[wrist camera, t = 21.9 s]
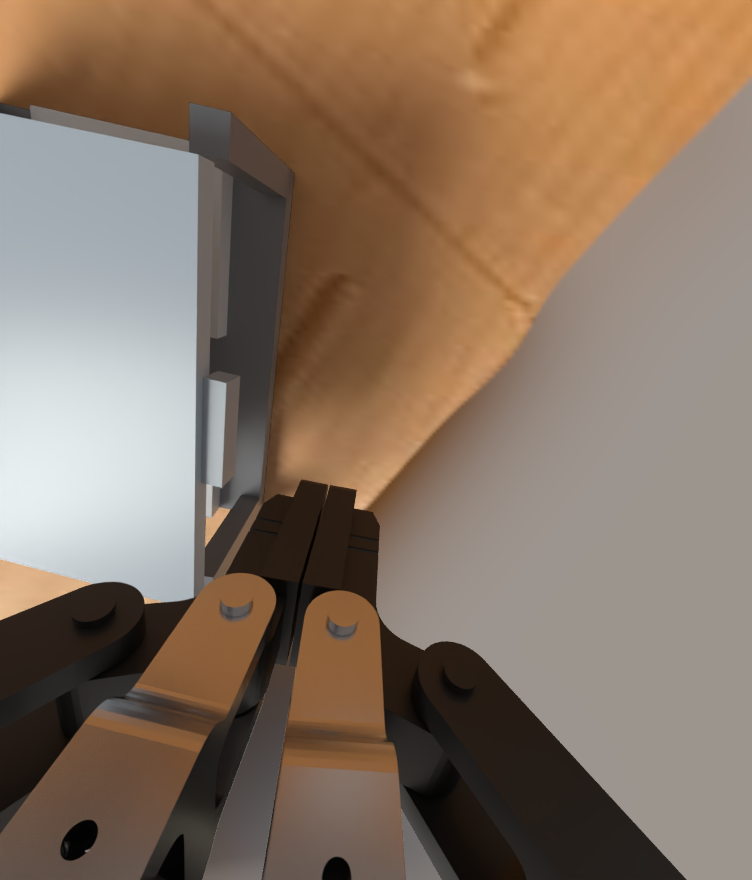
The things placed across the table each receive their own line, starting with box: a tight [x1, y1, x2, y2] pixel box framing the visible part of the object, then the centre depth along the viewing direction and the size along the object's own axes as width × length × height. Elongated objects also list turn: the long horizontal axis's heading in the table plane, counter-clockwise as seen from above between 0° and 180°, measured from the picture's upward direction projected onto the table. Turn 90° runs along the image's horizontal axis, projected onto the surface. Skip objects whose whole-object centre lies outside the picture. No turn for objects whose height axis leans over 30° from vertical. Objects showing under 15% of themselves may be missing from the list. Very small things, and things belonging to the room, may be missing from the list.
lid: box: [0, 113, 240, 602], centre depth 14 cm, size 16×13×1 cm
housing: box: [0, 103, 294, 587], centre depth 18 cm, size 19×14×8 cm
